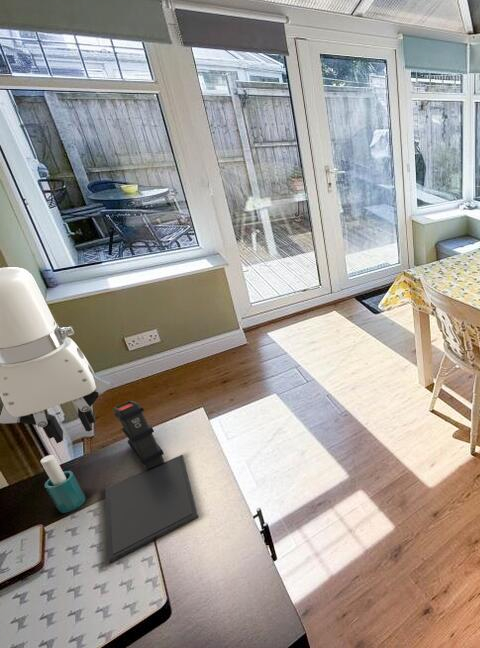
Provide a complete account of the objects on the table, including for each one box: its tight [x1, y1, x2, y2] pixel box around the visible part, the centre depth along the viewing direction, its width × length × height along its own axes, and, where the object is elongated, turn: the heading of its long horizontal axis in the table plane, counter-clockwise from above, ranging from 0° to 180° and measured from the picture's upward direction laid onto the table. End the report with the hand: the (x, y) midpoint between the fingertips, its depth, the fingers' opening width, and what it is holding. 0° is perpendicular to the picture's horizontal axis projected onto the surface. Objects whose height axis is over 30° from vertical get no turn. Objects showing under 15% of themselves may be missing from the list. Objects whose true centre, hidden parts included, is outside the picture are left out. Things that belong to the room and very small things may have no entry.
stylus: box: [39, 454, 67, 486], centre depth 80 cm, size 2×2×12 cm
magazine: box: [113, 400, 165, 470], centre depth 92 cm, size 4×13×15 cm, turn 54°
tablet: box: [104, 454, 199, 564], centre depth 83 cm, size 13×19×1 cm
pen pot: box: [44, 470, 87, 514], centre depth 81 cm, size 4×4×7 cm
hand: (74, 431), depth 72 cm, fingers open, 3 cm apart
